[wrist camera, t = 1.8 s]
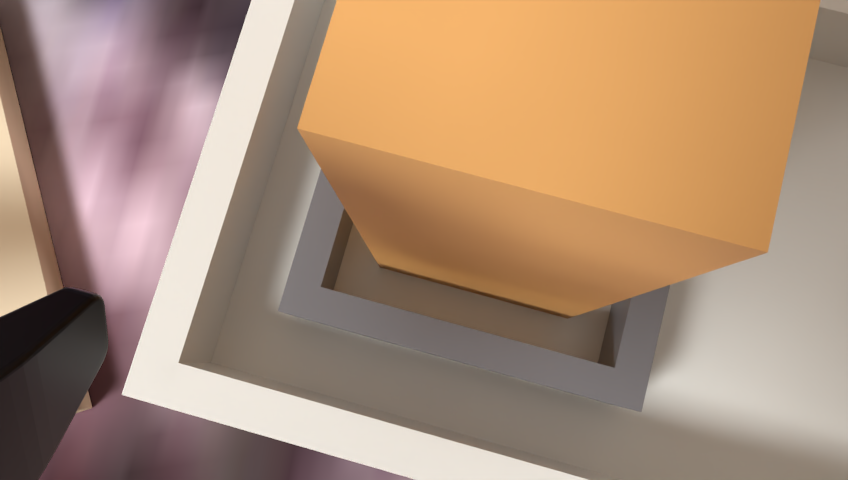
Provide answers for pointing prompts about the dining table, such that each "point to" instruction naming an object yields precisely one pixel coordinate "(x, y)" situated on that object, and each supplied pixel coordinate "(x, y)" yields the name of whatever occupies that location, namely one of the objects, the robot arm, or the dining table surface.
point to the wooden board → (22, 213)
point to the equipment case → (494, 316)
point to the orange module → (559, 138)
